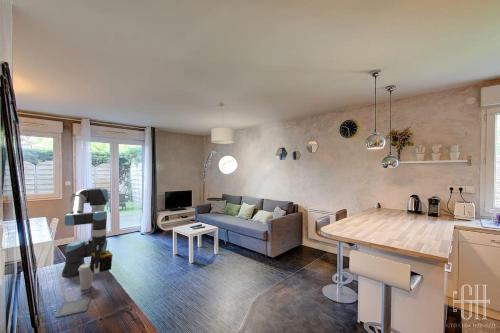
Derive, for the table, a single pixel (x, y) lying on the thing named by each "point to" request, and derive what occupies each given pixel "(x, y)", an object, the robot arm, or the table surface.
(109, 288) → the table surface
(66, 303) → the coaster
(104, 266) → the candle
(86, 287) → the coffee cup
